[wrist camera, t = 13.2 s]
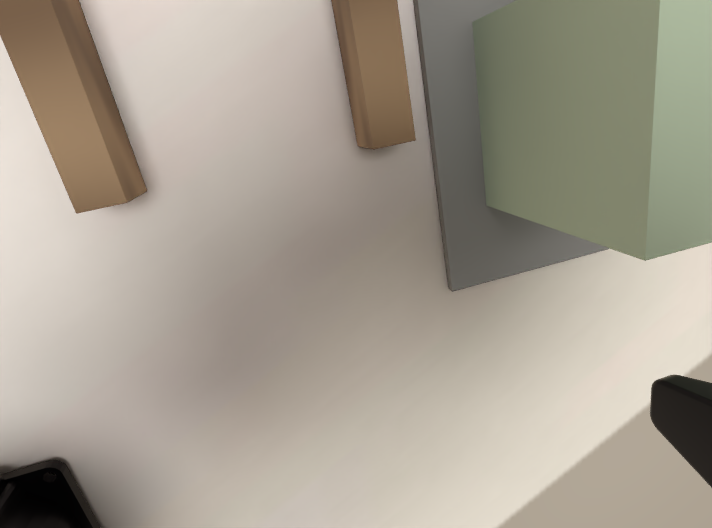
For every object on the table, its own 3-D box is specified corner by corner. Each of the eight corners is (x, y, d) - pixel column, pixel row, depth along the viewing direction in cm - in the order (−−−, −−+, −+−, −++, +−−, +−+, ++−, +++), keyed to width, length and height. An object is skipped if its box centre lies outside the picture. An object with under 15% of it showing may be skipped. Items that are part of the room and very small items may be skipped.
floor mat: (602, 246, 20) (608, 248, 20) (448, 288, 19) (452, 291, 19) (607, -107, 16) (616, -112, 15) (404, -79, 15) (407, -84, 14)
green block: (568, 5, 16) (829, -97, 9) (569, 185, 19) (775, 224, 11) (472, 21, 16) (664, -72, 8) (486, 205, 18) (645, 260, 11)
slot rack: (394, 138, 17) (415, 140, 14) (104, 200, 15) (76, 213, 13) (345, -187, 13) (363, -252, 11) (-35, -149, 12) (-107, -216, 10)
